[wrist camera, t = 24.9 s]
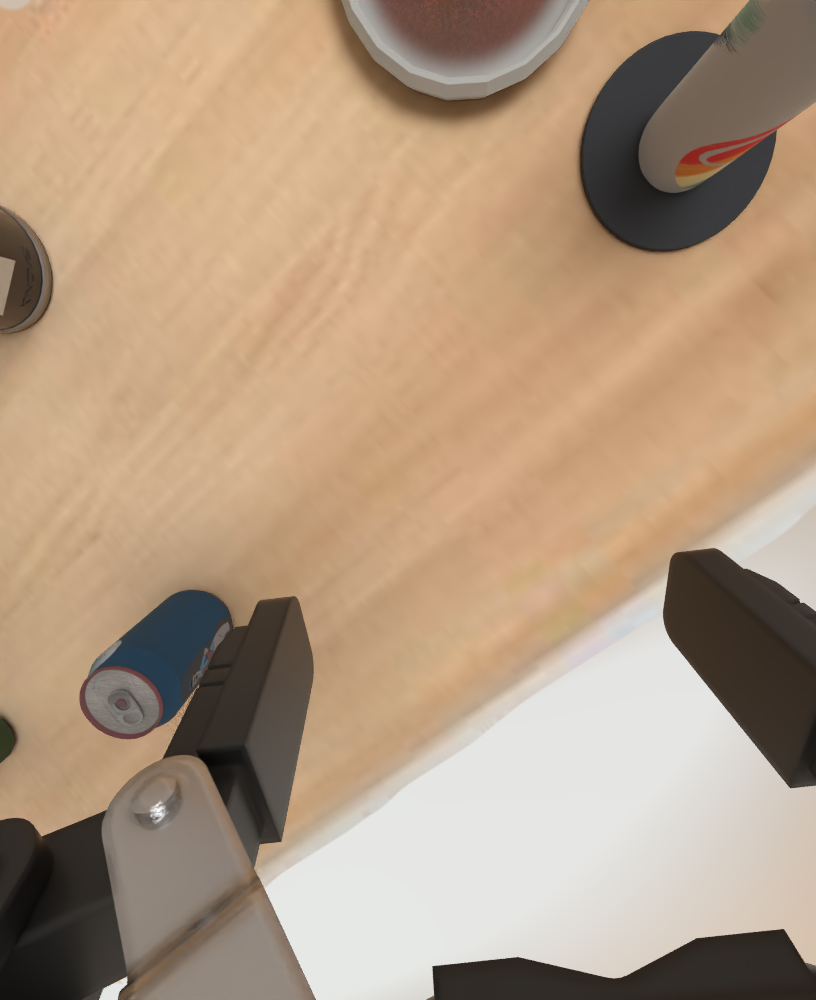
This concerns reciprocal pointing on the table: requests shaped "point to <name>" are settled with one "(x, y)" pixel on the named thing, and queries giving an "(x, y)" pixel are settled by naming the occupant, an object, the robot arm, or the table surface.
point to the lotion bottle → (734, 95)
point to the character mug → (5, 740)
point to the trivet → (615, 156)
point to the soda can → (155, 665)
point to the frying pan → (462, 40)
